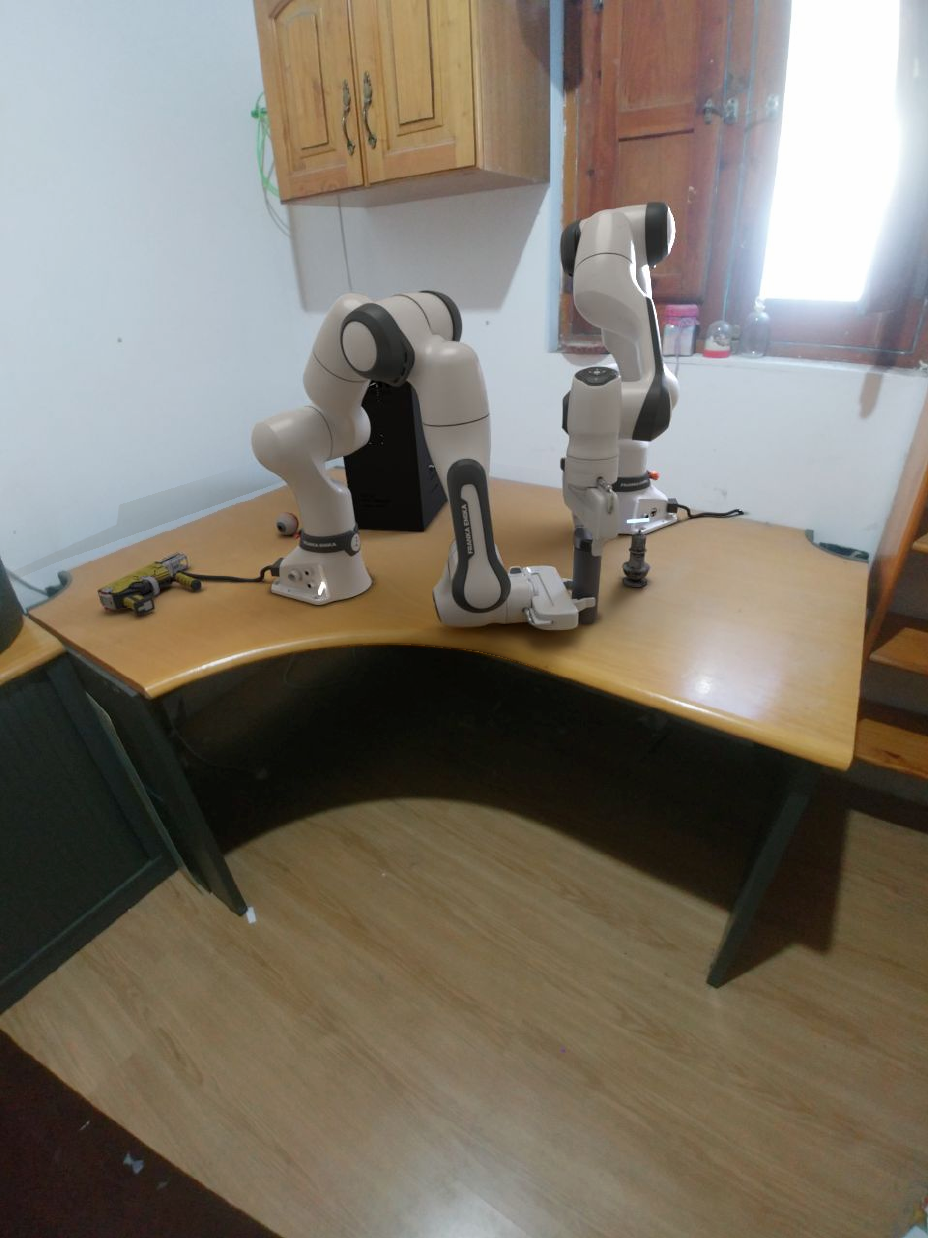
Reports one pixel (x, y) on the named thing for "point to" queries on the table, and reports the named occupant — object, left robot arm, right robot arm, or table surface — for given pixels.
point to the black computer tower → (393, 464)
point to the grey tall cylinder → (586, 581)
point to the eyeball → (287, 523)
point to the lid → (582, 538)
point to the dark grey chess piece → (636, 562)
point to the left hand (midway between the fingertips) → (589, 592)
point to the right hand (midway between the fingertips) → (587, 544)
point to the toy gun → (146, 585)
